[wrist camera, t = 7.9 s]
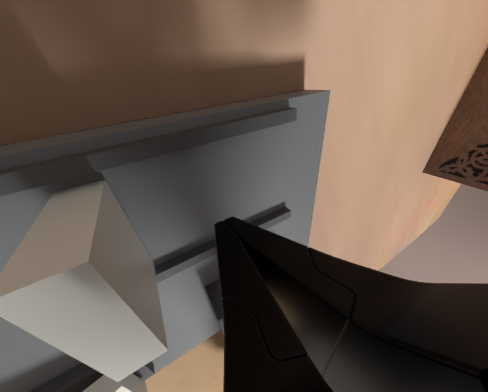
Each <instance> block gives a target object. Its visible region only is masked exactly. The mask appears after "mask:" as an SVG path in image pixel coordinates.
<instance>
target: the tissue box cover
mask: <svg viewBox="0 0 488 392" xmlns="http://www.w3.org/2000/svg"><path fill="white" fill-rule="evenodd" d="M423 173H427V174H430V175H434V176H437V177H441V178H444V179H447V180H451V181H454V182H458V183H461V184H465V185H468V186H471V187H475V188H478V189H482V190H485V191H488V49H487V51H486V53H485V54H484V56H483V58H482V60H481V62H480V64H479V66H478V68H477V70H476V72H475V73H474V75H473V77H472V79H471V81H470V83H469V85H468V87H467V89H466V90H465V92H464V94H463V96H462V98H461V100H460V102H459V104H458V106H457V108H456V109H455V111H454V113H453V115H452V117H451V119H450V121H449V123H448V125H447V127H446V128H445V130H444V132H443V134H442V136H441V138H440V140H439V142H438V144H437V145H436V147H435V149H434V151H433V153H432V155H431V157H430V159H429V161H428V163H427V164H426V166H425V168H424V170H423Z"/></svg>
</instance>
